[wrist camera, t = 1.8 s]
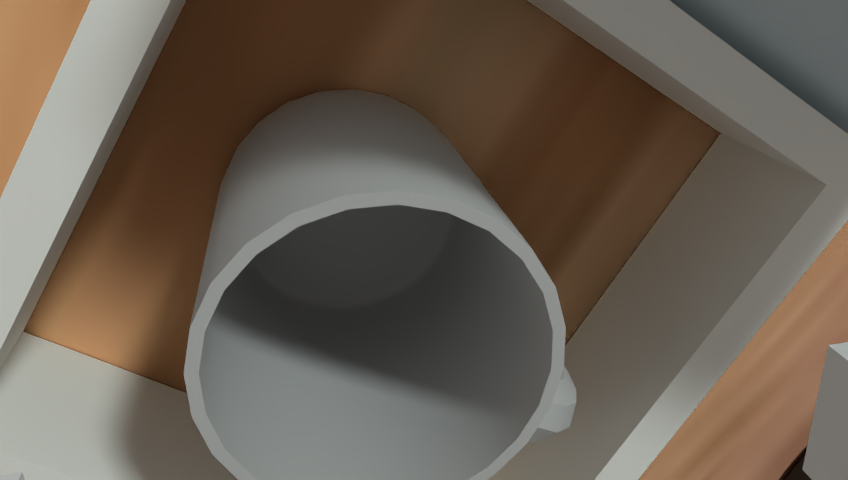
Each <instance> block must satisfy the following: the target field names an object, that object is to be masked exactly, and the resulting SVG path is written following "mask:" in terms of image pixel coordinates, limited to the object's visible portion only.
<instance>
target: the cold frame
mask: <svg viewBox="0 0 848 480" xmlns="http://www.w3.org/2000/svg"><path fill="white" fill-rule="evenodd" d="M527 1H528V2H530V3H531V4H533V5H534V6H536V7H537V8H538V9H540V10H541V11H543V12H544V13H546V14H547V15H549V16H550V17H552V18H553V19H554V20H556V21H557V22H559V23H560V24H562V25H563V26H565V27H566V28H568V29H569V30H571V31H572V32H573V33H575V34H576V35H578V36H579V37H581V38H582V39H584V40H585V41H587V42H588V43H590V44H591V45H592V46H594V47H595V48H597V49H598V50H600V51H601V52H603V53H604V54H606V55H607V56H608V57H610V58H611V59H613V60H614V61H616V62H617V63H619V64H620V65H622V66H623V67H625V68H626V69H627V70H629V71H630V72H632V73H633V74H635V75H636V76H638V77H639V78H641V79H642V80H644V81H645V82H646V83H648V84H649V85H651V86H652V87H654V88H655V89H657V90H658V91H660V92H661V93H662V94H664V95H665V96H667V97H668V98H670V99H671V100H673V101H674V102H676V103H677V104H679V105H680V106H681V107H683V108H684V109H686V110H687V111H689V112H690V113H692V114H693V115H695V116H696V117H698V118H699V119H700V120H702V121H703V122H705V123H706V124H708V125H709V126H711V127H712V128H714V129H715V130H716V131H718V132H719V133H720V135H719V136H718V137H717V139H716V140H715V142H714V143H713V144H712V146H711V147H710V148H709V150H708V151H707V153H706V154H705V155H704V157H703V158H702V159H701V161H700V162H699V163H698V165H697V166H696V168H695V169H694V170H693V172H692V173H691V174H690V176H689V177H688V179H687V180H686V181H685V183H684V184H683V185H682V187H681V188H680V190H679V191H678V192H677V194H676V195H675V196H674V198H673V199H672V200H671V202H670V203H669V205H668V206H667V207H666V209H665V210H664V211H663V213H662V214H661V216H660V217H659V218H658V220H657V221H656V222H655V224H654V225H653V227H652V228H651V229H650V231H649V232H648V233H647V235H646V236H645V237H644V239H643V240H642V242H641V243H640V244H639V246H638V247H637V248H636V250H635V251H634V253H633V254H632V255H631V257H630V258H629V259H628V261H627V262H626V263H625V265H624V266H623V268H622V269H621V270H620V272H619V273H618V274H617V276H616V277H615V279H614V280H613V281H612V283H611V284H610V285H609V287H608V288H607V290H606V291H605V292H604V294H603V295H602V296H601V298H600V299H599V300H598V302H597V303H596V305H595V306H594V307H593V309H592V310H591V311H590V313H589V314H588V316H587V317H586V318H585V320H584V321H583V322H582V324H581V325H580V327H579V328H578V329H577V331H576V332H575V333H574V335H573V336H572V337H571V339H570V340H569V342H568V343H567V344H566V346H565V354H564V366H565V367H566V369H567V370H568V372H569V374H570V377H571V379H572V381H573V383H574V386H575V388H576V406H575V409H574V413H573V417H572V421H571V424H570V427H569V428H567V429H564V430H562V431H560V432H558V433H556V434H554V435H552V436H550V437H548V438H546V439H543V440H541V441H539V442H537V443H531V442H528V443H527V444H526V445H525V446H524V447H523V448H522V449H521V450H520V451H519V452H518V453H517V454H516V455H515V456H514V457H513V458H511V459H510V460H509V461H508V462H507V463H506V464H505V465H504V466H503V467H502V468H501V469H500V470H499V471H498V472H497V473H496V474H494V475H493V476H491V477H490V478H488V479H486V480H638V479H639V478H640V476H641V475H642V474H643V473H644V471H645V470H646V469H647V468H648V466H649V465H650V464H651V463H652V461H653V460H654V459H655V458H656V456H657V455H658V454H659V453H660V452H661V450H662V449H663V448H664V447H665V445H666V444H667V443H668V442H669V440H670V439H671V438H672V437H673V435H674V434H675V433H676V432H677V431H678V429H679V428H680V427H681V426H682V424H683V423H684V422H685V421H686V419H687V418H688V417H689V416H690V414H691V413H692V412H693V411H694V409H695V408H696V407H697V406H698V405H699V403H700V402H701V401H702V400H703V398H704V397H705V396H706V395H707V393H708V392H709V391H710V390H711V388H712V387H713V386H714V385H715V383H716V382H717V381H718V380H719V379H720V377H721V376H722V375H723V374H724V372H725V371H726V370H727V369H728V367H729V366H730V365H731V364H732V362H733V361H734V360H735V359H736V357H737V356H738V355H739V354H740V353H741V351H742V350H743V349H744V348H745V346H746V345H747V344H748V343H749V341H750V340H751V339H752V338H753V336H754V335H755V334H756V333H757V331H758V330H759V329H760V328H761V327H762V325H763V324H764V323H765V322H766V320H767V319H768V318H769V317H770V315H771V314H772V313H773V312H774V310H775V309H776V308H777V307H778V305H779V304H780V303H781V302H782V301H783V299H784V298H785V297H786V296H787V294H788V293H789V292H790V291H791V289H792V288H793V287H794V286H795V284H796V283H797V282H798V281H799V279H800V278H801V277H802V276H803V275H804V273H805V272H806V271H807V270H808V268H809V267H810V266H811V265H812V263H813V262H814V261H815V260H816V258H817V257H818V256H819V255H820V253H821V252H822V251H823V250H824V249H825V247H826V246H827V245H828V244H829V242H830V241H831V240H832V239H833V237H834V236H835V235H836V234H837V232H838V231H839V230H840V229H841V227H842V226H843V225H844V224H845V223H846V221H847V220H848V0H527ZM185 2H186V0H91V1H90V3H89V5H88V8H87V10H86V12H85V14H84V16H83V19H82V21H81V23H80V25H79V27H78V30H77V32H76V34H75V36H74V38H73V40H72V43H71V45H70V47H69V49H68V51H67V54H66V56H65V58H64V60H63V62H62V65H61V67H60V69H59V71H58V73H57V75H56V78H55V80H54V82H53V84H52V86H51V89H50V91H49V93H48V95H47V97H46V100H45V102H44V104H43V106H42V108H41V110H40V113H39V115H38V117H37V119H36V121H35V124H34V126H33V128H32V130H31V132H30V135H29V137H28V139H27V141H26V143H25V145H24V148H23V150H22V152H21V154H20V156H19V159H18V161H17V163H16V165H15V167H14V170H13V172H12V174H11V176H10V178H9V180H8V183H7V185H6V187H5V189H4V191H3V194H2V196H1V198H0V475H4V474H10V473H17V472H22V473H23V476H24V479H25V480H238V479H237V478H236V477H235V476H234V475H233V474H232V473H231V472H230V471H229V470H228V469H227V468H225V467H224V466H223V465H222V464H221V463H220V462H219V461H218V460H217V459H216V458H215V457H214V456H213V455H212V453H211V451H210V450H209V448H208V446H207V444H206V442H205V440H204V439H203V437H202V435H201V433H200V431H199V429H198V428H197V426H196V424H195V422H194V420H193V418H192V416H191V411H190V405H189V400H188V395H187V393H185V392H183V391H180V390H177V389H175V388H172V387H169V386H167V385H164V384H161V383H159V382H156V381H153V380H151V379H148V378H145V377H143V376H140V375H137V374H135V373H132V372H129V371H127V370H124V369H121V368H119V367H116V366H113V365H111V364H108V363H105V362H103V361H100V360H97V359H95V358H92V357H89V356H87V355H84V354H81V353H79V352H76V351H73V350H71V349H68V348H65V347H63V346H60V345H57V344H55V343H52V342H49V341H47V340H44V339H41V338H39V337H36V336H33V335H31V334H28V333H26V332H23V331H24V329H25V327H26V325H27V323H28V321H29V319H30V317H31V315H32V313H33V311H34V308H35V306H36V304H37V302H38V300H39V298H40V296H41V294H42V292H43V290H44V288H45V286H46V284H47V282H48V280H49V278H50V276H51V274H52V272H53V270H54V268H55V266H56V264H57V262H58V260H59V258H60V256H61V254H62V252H63V250H64V248H65V246H66V244H67V242H68V240H69V238H70V235H71V233H72V231H73V229H74V227H75V225H76V223H77V221H78V219H79V217H80V215H81V213H82V211H83V209H84V207H85V205H86V203H87V201H88V199H89V197H90V195H91V193H92V191H93V189H94V187H95V185H96V183H97V181H98V179H99V177H100V175H101V173H102V171H103V169H104V167H105V165H106V162H107V160H108V158H109V156H110V154H111V152H112V150H113V148H114V146H115V144H116V142H117V140H118V138H119V136H120V134H121V132H122V130H123V128H124V126H125V124H126V122H127V120H128V118H129V116H130V114H131V112H132V110H133V108H134V106H135V104H136V102H137V100H138V98H139V96H140V94H141V91H142V89H143V87H144V85H145V83H146V81H147V79H148V77H149V75H150V73H151V71H152V69H153V67H154V65H155V63H156V61H157V59H158V57H159V55H160V53H161V51H162V49H163V47H164V45H165V43H166V41H167V39H168V37H169V35H170V33H171V31H172V29H173V27H174V25H175V23H176V21H177V18H178V16H179V14H180V12H181V10H182V8H183V6H184V4H185Z"/></svg>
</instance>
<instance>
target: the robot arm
mask: <svg viewBox="0 0 848 480" xmlns="http://www.w3.org/2000/svg"><path fill="white" fill-rule="evenodd" d="M0 480H25V479H24V476H23V473H22V472H17V473H10V474H4V475H0ZM786 480H848V342H846V343H840V344H833V345H828V349H827V354H826V359H825V364H824V368H823V373H822V378H821V383H820V388H819V392H818V397H817V402H816V407H815V411H814V416H813V421H812V426H811V431H810V435H809V440H808V445H807V450H806V454H805V456H804V457H803V458H802V459H801V460H800V461H799V463H798V464H797V465H796V466H795V468H794V469H793V470H792V471H791V473H790V474H789V476H788V477H787V478H786Z"/></svg>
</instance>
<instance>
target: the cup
mask: <svg viewBox="0 0 848 480" xmlns="http://www.w3.org/2000/svg"><path fill="white" fill-rule="evenodd" d="M565 335H566V326H565V322H564V318H563V314H562V310H561V306H560V302H559V298H558V294H557V290H556V286H555V285H554V283H553V282H552V280H551V278H550V277H549V275H548V274H547V272H546V270H545V269H544V267H543V265H542V264H541V262H540V261H539V259H538V257H537V256H536V254H535V253H534V251H533V249H532V248H531V247H530V246H529V244H528V243H527V242H526V240H525V239H524V238H523V236H522V235H521V234H520V233H519V231H518V230H517V229H516V227H515V226H514V225H513V223H512V222H511V221H510V220H509V218H508V217H507V216H506V214H505V213H504V212H503V210H502V209H501V208H500V206H499V205H498V204H497V203H496V201H495V200H494V199H493V197H492V196H491V195H490V193H489V192H488V191H487V190H486V188H485V187H484V186H483V184H482V183H481V182H480V180H479V179H478V178H477V176H476V175H475V174H474V173H473V171H472V170H471V169H470V167H469V166H468V165H467V163H466V162H465V161H464V160H463V158H462V157H461V156H460V154H459V153H458V152H457V150H456V149H455V148H454V146H453V145H452V144H451V143H450V141H449V140H448V139H447V137H446V136H445V135H444V134H443V133H441V132H440V131H439V130H438V129H437V128H436V127H435V126H434V125H433V124H431V123H430V122H429V121H428V120H427V119H426V118H425V117H424V116H423V115H421V114H420V113H419V112H418V111H417V110H415V109H413V108H411V107H409V106H407V105H405V104H403V103H401V102H399V101H397V100H395V99H393V98H391V97H389V96H387V95H382V94H377V93H372V92H367V91H362V90H357V89H345V90H331V91H319V92H316V93H313V94H310V95H307V96H304V97H301V98H298V99H295V100H293V101H290V102H287V103H285V104H284V105H283V106H281V107H280V108H278V109H277V110H275V111H274V112H272V113H271V114H269V115H268V116H266V117H265V118H263V119H262V120H260V121H259V122H258V123H257V124H256V126H255V127H254V128H253V129H252V130H251V131H250V133H249V134H248V135H247V136H246V137H245V138H244V140H243V141H242V142H241V143H240V144H239V145H238V147H237V149H236V151H235V153H234V155H233V158H232V160H231V162H230V164H229V167H228V169H227V171H226V173H225V175H224V178H223V180H222V182H221V185H220V190H219V194H218V199H217V204H216V208H215V213H214V218H213V222H212V227H211V232H210V236H209V241H208V245H207V250H206V255H205V259H204V264H203V269H202V273H201V278H200V283H199V287H198V292H197V297H196V301H195V306H194V311H193V315H192V320H191V324H190V330H189V337H188V344H187V352H186V359H185V366H184V379H185V384H186V390H187V395H188V400H189V405H190V411H191V416H192V418H193V420H194V422H195V424H196V426H197V428H198V429H199V431H200V433H201V435H202V437H203V439H204V440H205V442H206V444H207V446H208V448H209V450H210V451H211V453H212V455H213V456H214V457H215V458H216V459H217V460H218V461H219V462H220V463H221V464H222V465H223V466H224V467H225V468H227V469H228V470H229V471H230V472H231V473H232V474H233V475H234V476H235V477H236V478H237V479H238V480H486V479H488V478H490V477H491V476H493V475H494V474H496V473H497V472H498V471H499V470H500V469H501V468H502V467H503V466H504V465H505V464H506V463H507V462H508V461H509V460H510V459H511V458H513V457H514V456H515V455H516V454H517V453H518V452H519V451H520V450H521V449H522V448H523V447H524V446H525V445H526V444H527V443H528V442H531V443H537V442H539V441H541V440H543V439H546V438H548V437H550V436H552V435H554V434H556V433H558V432H560V431H562V430H564V429H567V428H569V427H570V424H571V421H572V417H573V413H574V409H575V406H576V388H575V386H574V383H573V381H572V379H571V377H570V374H569V372H568V370H567V369H566V367H565V366H564V354H565Z"/></svg>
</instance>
